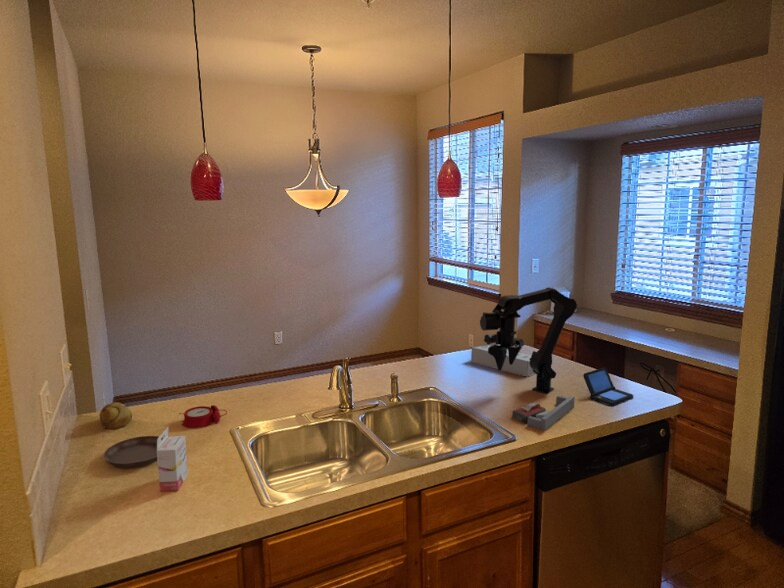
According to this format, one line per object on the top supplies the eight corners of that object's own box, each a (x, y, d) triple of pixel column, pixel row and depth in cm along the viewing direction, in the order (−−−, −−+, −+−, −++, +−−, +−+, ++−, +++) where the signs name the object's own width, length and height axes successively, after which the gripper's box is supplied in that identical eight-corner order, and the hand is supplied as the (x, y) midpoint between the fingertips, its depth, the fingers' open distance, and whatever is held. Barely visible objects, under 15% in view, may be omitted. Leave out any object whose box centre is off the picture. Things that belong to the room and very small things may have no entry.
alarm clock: (177, 410, 177) (220, 394, 183) (183, 426, 179) (225, 409, 185) (179, 421, 168) (225, 404, 174) (185, 438, 170) (230, 420, 176)
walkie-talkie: (528, 427, 173) (564, 413, 184) (529, 415, 172) (565, 401, 183) (508, 418, 180) (544, 405, 191) (509, 407, 179) (544, 394, 190)
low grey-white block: (543, 370, 230) (544, 354, 229) (526, 378, 221) (527, 361, 219) (488, 356, 252) (489, 341, 250) (471, 362, 242) (471, 347, 240)
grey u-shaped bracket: (557, 402, 193) (558, 392, 192) (574, 406, 189) (574, 396, 188) (527, 425, 173) (528, 414, 172) (544, 430, 169) (545, 419, 169)
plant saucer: (159, 438, 164) (158, 429, 164) (179, 458, 151) (178, 449, 151) (97, 456, 153) (96, 447, 152) (113, 480, 140) (112, 469, 139)
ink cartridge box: (178, 491, 134) (174, 439, 131) (159, 492, 134) (154, 440, 131) (188, 474, 143) (185, 425, 140) (170, 475, 142) (166, 425, 139)
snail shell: (98, 420, 178) (96, 398, 176) (129, 413, 183) (127, 392, 182) (101, 434, 167) (99, 411, 166) (134, 426, 172) (132, 404, 171)
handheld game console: (611, 407, 189) (613, 383, 187) (580, 396, 200) (582, 373, 198) (634, 398, 198) (636, 375, 196) (603, 387, 209) (605, 366, 207)
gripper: (499, 321, 209) (498, 357, 212) (476, 330, 195) (475, 368, 198) (525, 325, 202) (523, 363, 205) (502, 334, 188) (501, 375, 191)
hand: (505, 367), depth 199 cm, fingers open, 9 cm apart
